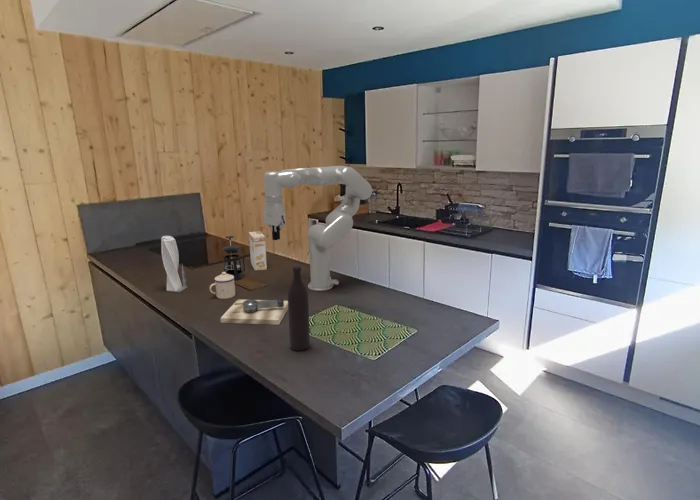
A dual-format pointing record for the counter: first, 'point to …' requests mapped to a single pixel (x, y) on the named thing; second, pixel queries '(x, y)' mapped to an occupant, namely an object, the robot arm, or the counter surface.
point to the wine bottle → (298, 312)
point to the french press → (233, 268)
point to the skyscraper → (172, 264)
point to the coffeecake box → (257, 250)
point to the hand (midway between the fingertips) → (276, 239)
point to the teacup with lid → (224, 286)
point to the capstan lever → (260, 304)
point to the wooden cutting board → (254, 314)
